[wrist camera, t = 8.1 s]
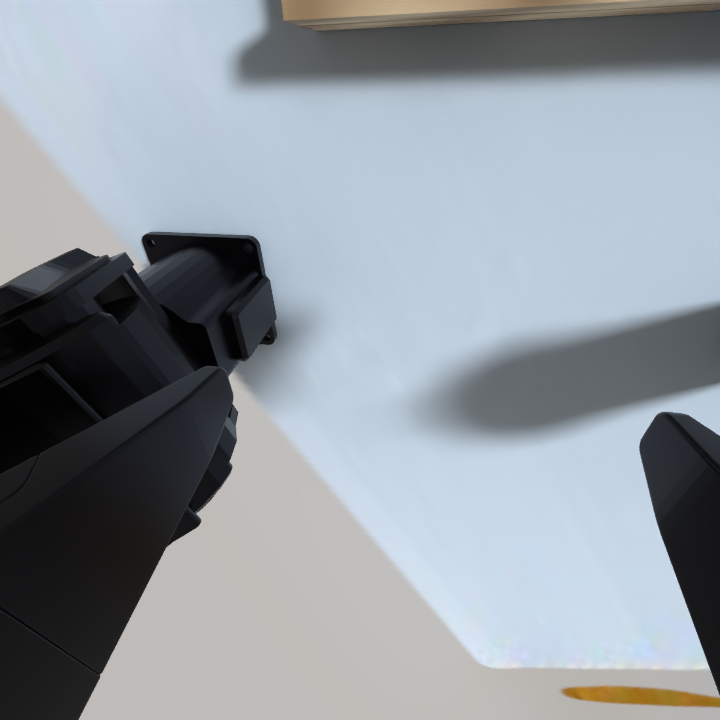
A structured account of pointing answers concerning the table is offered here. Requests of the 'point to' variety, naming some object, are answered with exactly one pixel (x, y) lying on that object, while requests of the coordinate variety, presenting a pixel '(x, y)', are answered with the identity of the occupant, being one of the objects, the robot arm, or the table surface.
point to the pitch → (466, 11)
